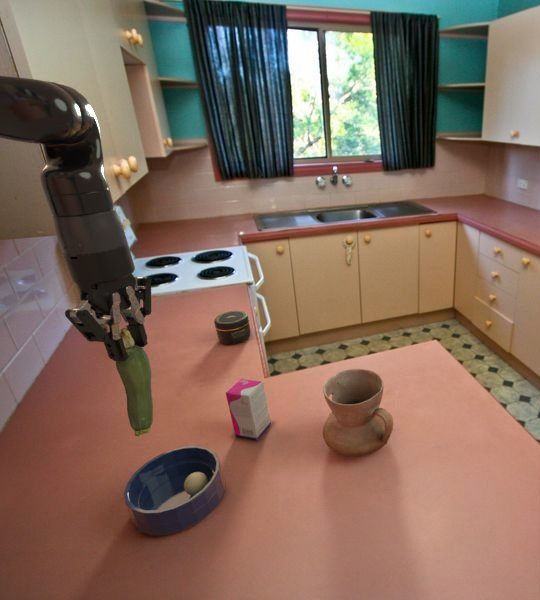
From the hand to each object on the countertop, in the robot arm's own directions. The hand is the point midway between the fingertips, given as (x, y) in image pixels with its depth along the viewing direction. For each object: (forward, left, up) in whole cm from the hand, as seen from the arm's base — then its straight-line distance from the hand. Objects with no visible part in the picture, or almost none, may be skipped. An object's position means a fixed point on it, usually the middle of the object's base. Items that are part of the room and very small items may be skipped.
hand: (130, 352), depth 65 cm
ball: (+3, -1, -29) cm, 29 cm away
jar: (+27, +57, -32) cm, 71 cm away
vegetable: (-1, +1, -15) cm, 15 cm away
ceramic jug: (+34, -7, -32) cm, 47 cm away
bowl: (0, 0, -32) cm, 32 cm away
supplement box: (+17, +11, -32) cm, 38 cm away
